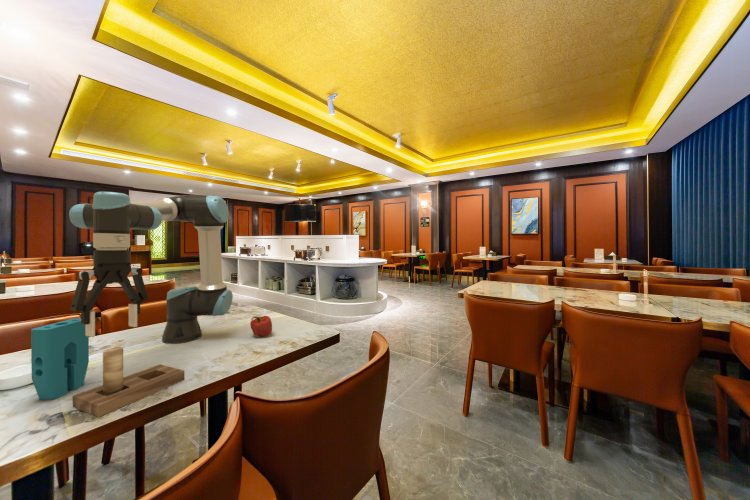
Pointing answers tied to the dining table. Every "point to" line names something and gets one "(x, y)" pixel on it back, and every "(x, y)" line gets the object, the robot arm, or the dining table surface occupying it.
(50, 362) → the block
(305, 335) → the dining table surface
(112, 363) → the peg
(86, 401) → the board
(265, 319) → the red apple
